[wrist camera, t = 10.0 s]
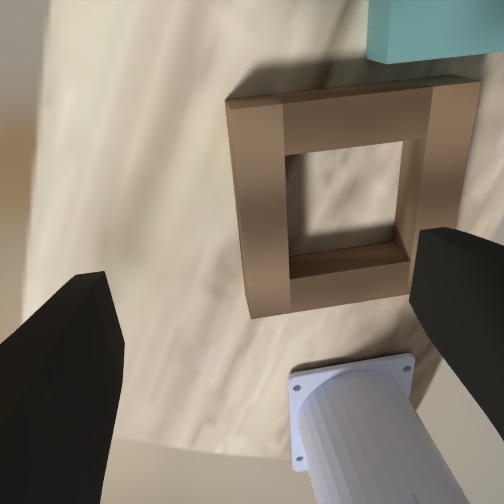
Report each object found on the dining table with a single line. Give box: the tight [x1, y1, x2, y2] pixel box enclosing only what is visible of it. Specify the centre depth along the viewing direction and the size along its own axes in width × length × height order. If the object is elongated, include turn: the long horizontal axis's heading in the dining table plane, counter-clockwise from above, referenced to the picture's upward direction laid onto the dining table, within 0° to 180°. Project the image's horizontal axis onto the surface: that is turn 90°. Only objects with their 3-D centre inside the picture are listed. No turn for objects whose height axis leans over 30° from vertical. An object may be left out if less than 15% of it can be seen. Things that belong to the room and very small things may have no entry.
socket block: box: [225, 75, 482, 319], centre depth 20 cm, size 10×10×2 cm
